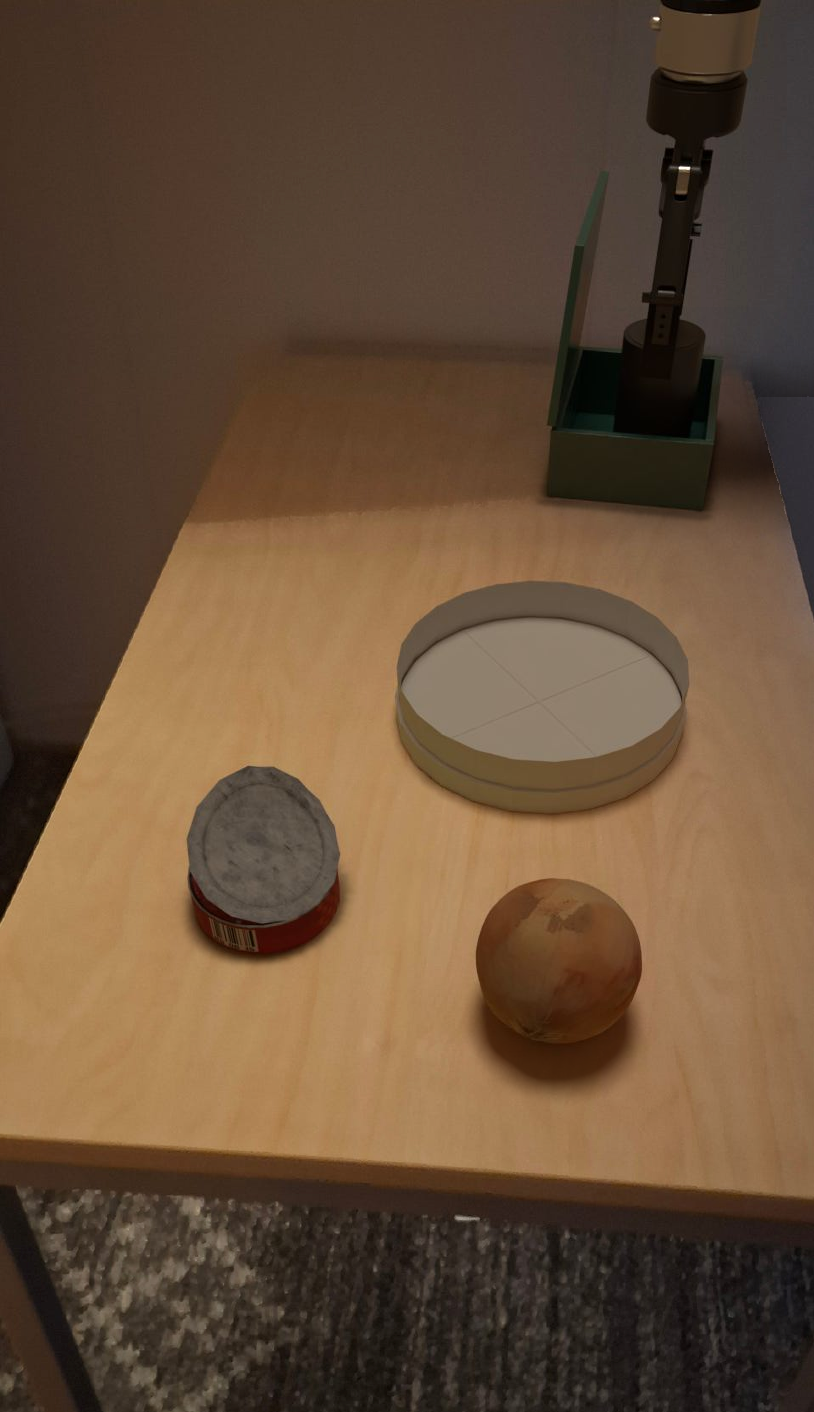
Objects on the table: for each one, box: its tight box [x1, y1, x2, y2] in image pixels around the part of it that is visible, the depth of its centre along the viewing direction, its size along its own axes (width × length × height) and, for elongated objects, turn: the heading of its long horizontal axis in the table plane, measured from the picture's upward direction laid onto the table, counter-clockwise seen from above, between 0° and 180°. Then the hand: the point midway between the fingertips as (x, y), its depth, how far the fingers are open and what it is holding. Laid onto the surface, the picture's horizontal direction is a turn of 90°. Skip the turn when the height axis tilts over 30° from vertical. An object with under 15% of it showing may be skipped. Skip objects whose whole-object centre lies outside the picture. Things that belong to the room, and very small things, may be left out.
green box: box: [545, 345, 724, 512], centre depth 113 cm, size 15×18×7 cm
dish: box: [394, 580, 690, 815], centre depth 89 cm, size 22×22×5 cm
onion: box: [475, 877, 643, 1044], centre depth 68 cm, size 10×10×10 cm
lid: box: [546, 170, 610, 427], centre depth 106 cm, size 15×18×1 cm
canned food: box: [186, 765, 341, 955], centre depth 76 cm, size 11×10×10 cm
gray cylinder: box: [613, 318, 707, 438], centre depth 111 cm, size 7×7×12 cm
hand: (661, 344), depth 107 cm, fingers open, 13 cm apart
